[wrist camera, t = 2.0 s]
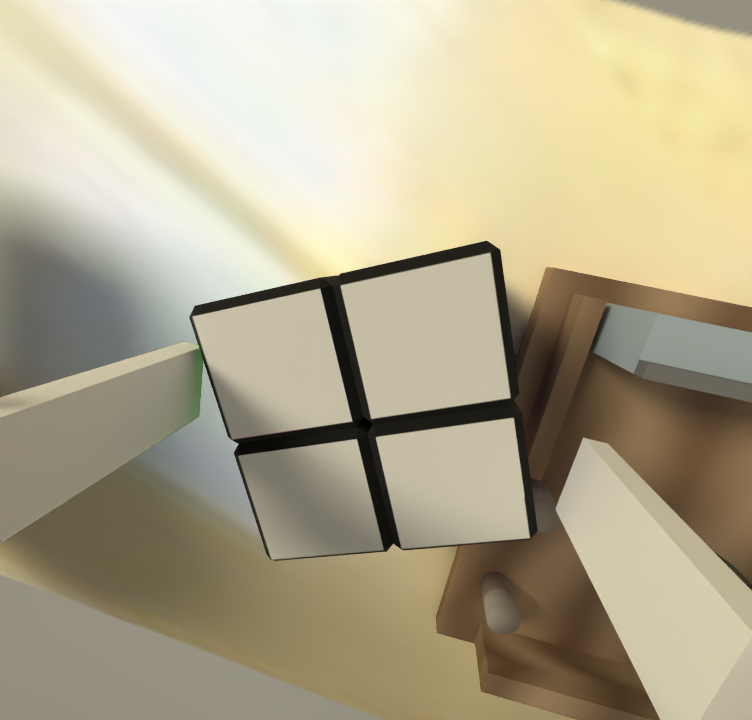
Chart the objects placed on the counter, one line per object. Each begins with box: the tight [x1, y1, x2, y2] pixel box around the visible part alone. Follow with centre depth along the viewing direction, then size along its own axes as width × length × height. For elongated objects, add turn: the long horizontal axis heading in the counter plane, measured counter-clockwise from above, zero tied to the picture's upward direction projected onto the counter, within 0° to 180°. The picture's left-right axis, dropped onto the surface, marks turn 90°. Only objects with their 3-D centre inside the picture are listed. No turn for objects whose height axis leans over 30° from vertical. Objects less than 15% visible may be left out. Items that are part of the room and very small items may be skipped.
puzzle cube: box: [190, 241, 538, 561], centre depth 17 cm, size 10×10×10 cm
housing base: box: [436, 267, 752, 720], centre depth 20 cm, size 18×24×4 cm
